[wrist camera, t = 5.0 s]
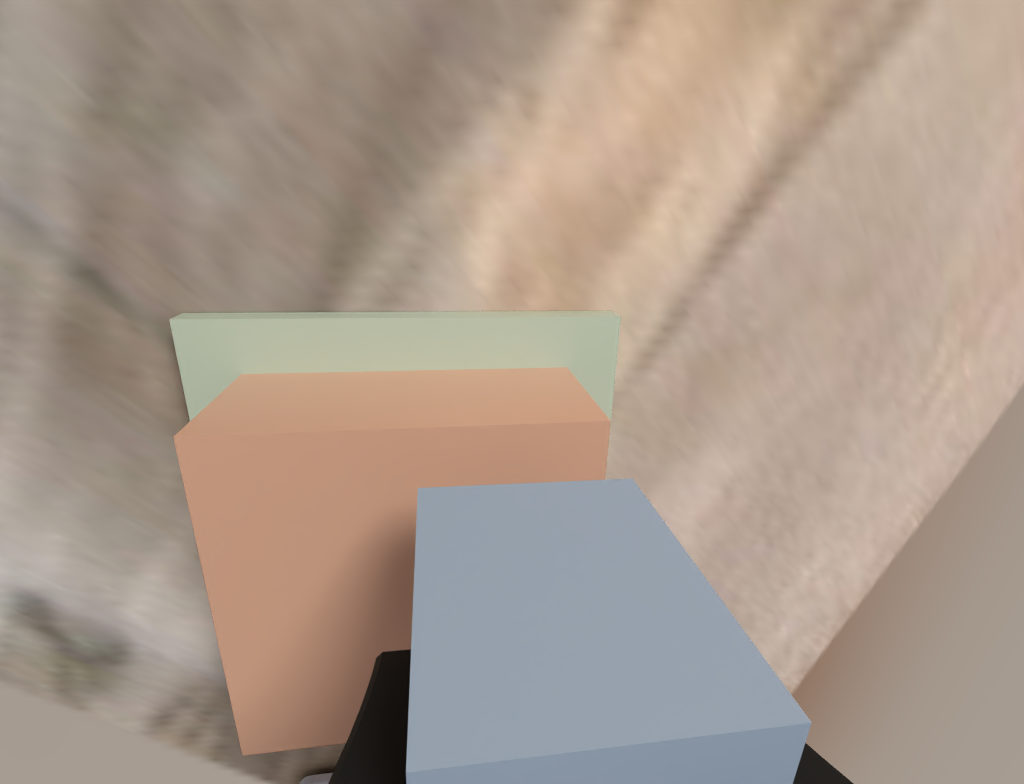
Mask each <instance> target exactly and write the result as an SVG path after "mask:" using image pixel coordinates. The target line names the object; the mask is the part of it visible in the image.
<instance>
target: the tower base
mask: <svg viewBox="0 0 1024 784" xmlns="http://www.w3.org/2000/svg"><path fill="white" fill-rule="evenodd" d="M169 320H170V325H171V330H172V335H173V340H174V345H175V350H176V354H177V359H178V364H179V369H180V374H181V379H182V384H183V389H184V394H185V399H186V404H187V409H188V414H189V419H190V422H189V423H188V424H187V425H186V426H185V427H184V428H183V429H181V430H180V431H179V432H178V433H177V434H176V435H175V436H174V442H175V446H176V451H177V456H178V460H179V465H180V469H181V474H182V479H183V483H184V488H185V493H186V497H187V502H188V506H189V511H190V516H191V520H192V525H193V529H194V534H195V539H196V543H197V548H198V553H199V557H200V562H201V566H202V571H203V576H204V580H205V585H206V589H207V594H208V599H209V603H210V608H211V612H212V617H213V622H214V626H215V631H216V636H217V640H218V645H219V649H220V654H221V659H222V663H223V668H224V672H225V677H226V682H227V686H228V691H229V696H230V700H231V705H232V709H233V714H234V719H235V723H236V728H237V732H238V737H239V742H240V746H241V751H242V755H243V756H244V755H253V754H261V753H269V752H278V751H286V750H294V749H303V748H311V747H319V746H328V745H336V744H344V743H346V742H347V740H348V737H349V735H350V733H351V730H352V727H353V725H354V722H355V720H356V717H357V715H358V712H359V710H360V707H361V704H362V702H363V699H364V696H365V693H366V690H367V687H368V684H369V681H370V678H371V675H372V672H373V668H374V664H375V660H376V657H378V656H379V655H380V654H381V653H382V652H386V651H397V650H408V649H411V640H412V616H413V592H414V568H415V544H416V520H417V496H418V488H427V487H450V486H473V485H496V484H519V483H542V482H564V481H587V480H605V477H606V466H607V456H608V446H609V435H610V425H611V415H612V404H613V394H614V384H615V373H616V363H617V353H618V342H619V332H620V322H621V316H619V315H618V314H616V313H615V312H613V311H497V312H298V313H182V314H180V315H178V316H176V317H174V318H171V319H169Z"/></svg>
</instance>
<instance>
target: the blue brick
mask: <svg viewBox="0 0 1024 784" xmlns="http://www.w3.org/2000/svg"><path fill="white" fill-rule="evenodd" d="M810 726H811V722H810V720H809V719H808V717H807V716H806V715H805V713H804V712H803V710H802V709H801V708H800V706H799V705H798V704H797V702H796V701H795V700H794V698H793V697H792V695H791V694H790V693H789V691H788V690H787V689H786V687H785V686H784V685H783V683H782V682H781V680H780V679H779V678H778V676H777V675H776V674H775V672H774V671H773V670H772V668H771V667H770V665H769V664H768V663H767V661H766V660H765V659H764V657H763V656H762V655H761V653H760V652H759V650H758V649H757V648H756V646H755V645H754V644H753V642H752V641H751V640H750V638H749V637H748V635H747V634H746V633H745V631H744V630H743V629H742V627H741V626H740V624H739V623H738V622H737V620H736V619H735V618H734V616H733V615H732V614H731V612H730V611H729V609H728V608H727V607H726V605H725V604H724V603H723V601H722V600H721V599H720V597H719V596H718V594H717V593H716V592H715V590H714V589H713V588H712V586H711V585H710V584H709V582H708V581H707V579H706V578H705V577H704V575H703V574H702V573H701V571H700V570H699V569H698V567H697V566H696V564H695V563H694V562H693V560H692V559H691V558H690V556H689V555H688V554H687V552H686V551H685V549H684V548H683V547H682V545H681V544H680V543H679V541H678V540H677V539H676V537H675V536H674V534H673V533H672V532H671V530H670V529H669V528H668V526H667V525H666V524H665V522H664V521H663V519H662V518H661V517H660V515H659V514H658V513H657V511H656V510H655V509H654V507H653V506H652V504H651V503H650V502H649V500H648V499H647V498H646V496H645V495H644V494H643V492H642V491H641V489H640V488H639V487H638V485H637V484H636V483H635V481H634V480H633V479H610V480H587V481H564V482H542V483H519V484H496V485H473V486H450V487H427V488H418V496H417V520H416V544H415V568H414V592H413V616H412V640H411V663H410V687H409V711H408V735H407V759H406V784H793V781H794V778H795V774H796V771H797V768H798V765H799V762H800V758H801V755H802V752H803V749H804V745H805V742H806V739H807V736H808V732H809V729H810Z"/></svg>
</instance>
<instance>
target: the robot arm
mask: <svg viewBox="0 0 1024 784" xmlns="http://www.w3.org/2000/svg"><path fill="white" fill-rule="evenodd" d="M410 663H411V649H408V650H397V651H386V652H382V653H381V654H380V655H379V656H378V657H376V660H375V664H374V668H373V672H372V675H371V678H370V681H369V684H368V687H367V690H366V693H365V696H364V699H363V702H362V704H361V707H360V710H359V712H358V715H357V717H356V720H355V722H354V725H353V727H352V730H351V733H350V735H349V737H348V740H347V742H346V744H345V747H344V749H343V751H342V753H341V756H340V758H339V760H338V762H337V765H336V767H335V769H334V772H332V773H324V774H317V775H310V776H307V777H305V778H303V779H302V780H301V781H300V783H299V784H406V759H407V735H408V711H409V687H410ZM793 784H853V783H852V782H851V781H850V780H848V779H847V778H846V777H845V776H843V775H842V774H841V773H840V772H839V771H838V770H836V769H835V768H834V767H833V766H832V765H830V764H829V763H828V762H827V761H826V760H825V759H823V758H822V757H821V756H820V755H819V754H818V753H816V752H815V751H814V750H813V749H812V748H811V747H810V746H808V745H807V744H806V743H805V745H804V749H803V752H802V755H801V758H800V762H799V765H798V768H797V771H796V774H795V778H794V781H793Z"/></svg>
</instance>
